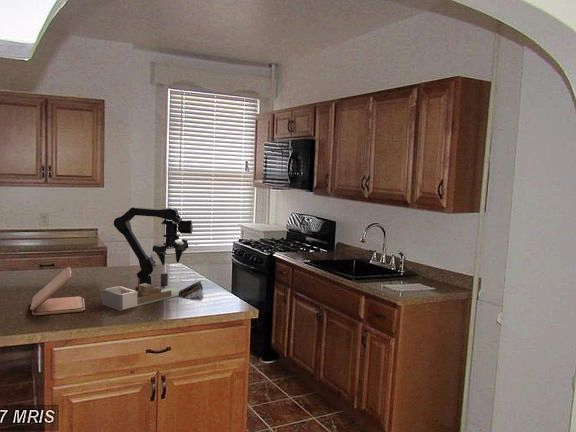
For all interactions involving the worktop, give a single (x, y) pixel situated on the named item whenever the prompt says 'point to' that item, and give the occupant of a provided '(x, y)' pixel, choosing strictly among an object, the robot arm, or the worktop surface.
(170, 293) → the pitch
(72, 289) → the worktop surface
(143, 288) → the sled
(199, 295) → the chocolate cake
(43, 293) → the case
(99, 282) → the worktop surface
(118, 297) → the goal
